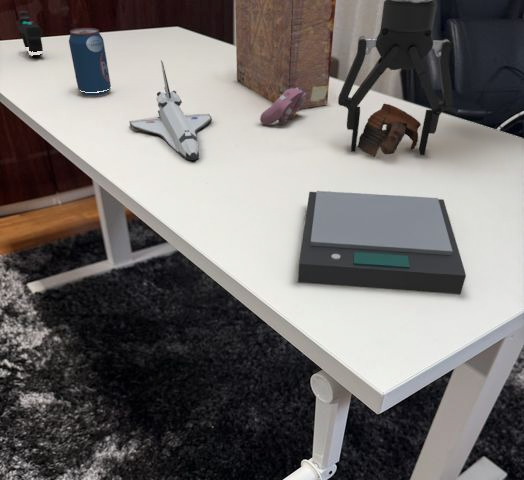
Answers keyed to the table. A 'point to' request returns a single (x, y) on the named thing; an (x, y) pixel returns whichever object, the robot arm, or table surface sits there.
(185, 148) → the space shuttle model
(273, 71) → the book
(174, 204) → the table surface
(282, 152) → the table surface
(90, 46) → the soda can
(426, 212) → the scale
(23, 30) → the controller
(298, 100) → the video game controller
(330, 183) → the table surface
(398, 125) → the brown hollow arched part
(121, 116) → the table surface
